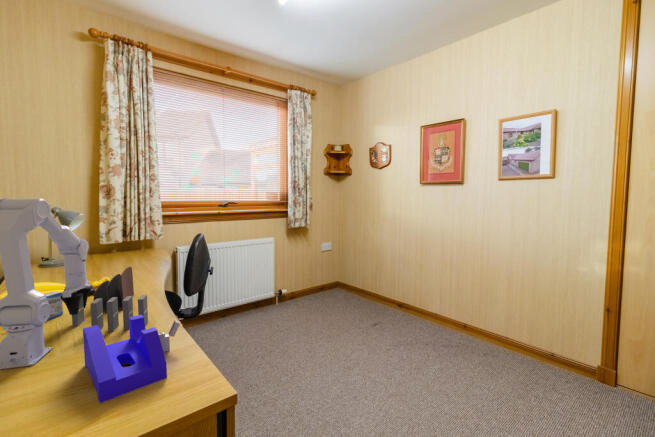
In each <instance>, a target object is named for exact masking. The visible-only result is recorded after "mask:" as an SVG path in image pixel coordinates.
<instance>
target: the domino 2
mask: <svg viewBox="0 0 655 437" xmlns="http://www.w3.org/2000/svg"><path fill="white" fill-rule="evenodd" d="M90 320H91V321H90V322H91V326H95V325H98V326H99V328H100V330H101V331H102V329H104V312H103V304H102V298H99V299H96V300H94V299H93V301H91V302H90Z"/></svg>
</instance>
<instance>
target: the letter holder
mask: <svg viewBox="0 0 655 437" xmlns="http://www.w3.org/2000/svg"><path fill="white" fill-rule="evenodd" d="M133 277H134V276H133V267H132V266H128V267H126V268H125V269H124V270H123V271H122V273H121V274H120V273H117V274H116V275H114V276H113V277H112V278H111V280H110V281H109V280H108V279H107V280H105V281H103V282H102V283H100V284H99V286H98V287H97V288H96V289H95V290H96V291H95V292H94V295H93V301H94V300H96V299H99V298H102V304H103V313H107V301H109V300H110V299H111V298H112V297H117V299H118V311H123V303H122V301H123V300H124V299H125V298H126V297H127V296H132V298H133V297H134V295H135V291H134V278H133Z"/></svg>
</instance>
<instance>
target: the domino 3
mask: <svg viewBox="0 0 655 437" xmlns="http://www.w3.org/2000/svg"><path fill="white" fill-rule="evenodd" d="M106 315H107V316H106V318H107V332H108V333H110V332H114V331H115V330H116V329H117V328H118V327H119V325H120V324H119V322H120V320H119V310H118V299H117V297H112V298H111V299H110V300H109V301H107V312H106Z"/></svg>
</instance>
